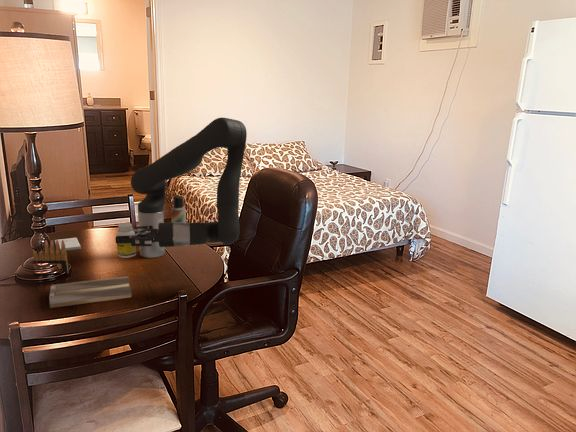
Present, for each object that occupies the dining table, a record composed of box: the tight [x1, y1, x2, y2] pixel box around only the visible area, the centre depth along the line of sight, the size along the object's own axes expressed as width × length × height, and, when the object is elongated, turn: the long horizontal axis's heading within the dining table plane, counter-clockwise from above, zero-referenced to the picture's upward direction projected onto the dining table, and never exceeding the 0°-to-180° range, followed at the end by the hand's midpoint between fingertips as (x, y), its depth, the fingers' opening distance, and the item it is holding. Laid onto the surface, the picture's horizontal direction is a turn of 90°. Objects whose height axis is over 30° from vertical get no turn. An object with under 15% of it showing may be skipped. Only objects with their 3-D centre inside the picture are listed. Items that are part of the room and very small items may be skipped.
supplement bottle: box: [116, 222, 137, 259], centre depth 137 cm, size 5×5×10 cm
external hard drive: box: [54, 237, 82, 251], centre depth 179 cm, size 2×8×12 cm
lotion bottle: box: [170, 195, 187, 223], centre depth 185 cm, size 6×6×20 cm
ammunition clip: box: [32, 239, 70, 275], centre depth 150 cm, size 11×2×12 cm, turn 98°
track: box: [48, 275, 132, 309], centre depth 137 cm, size 10×22×3 cm, turn 114°
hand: (117, 236), depth 136 cm, fingers closed on supplement bottle, 5 cm apart
